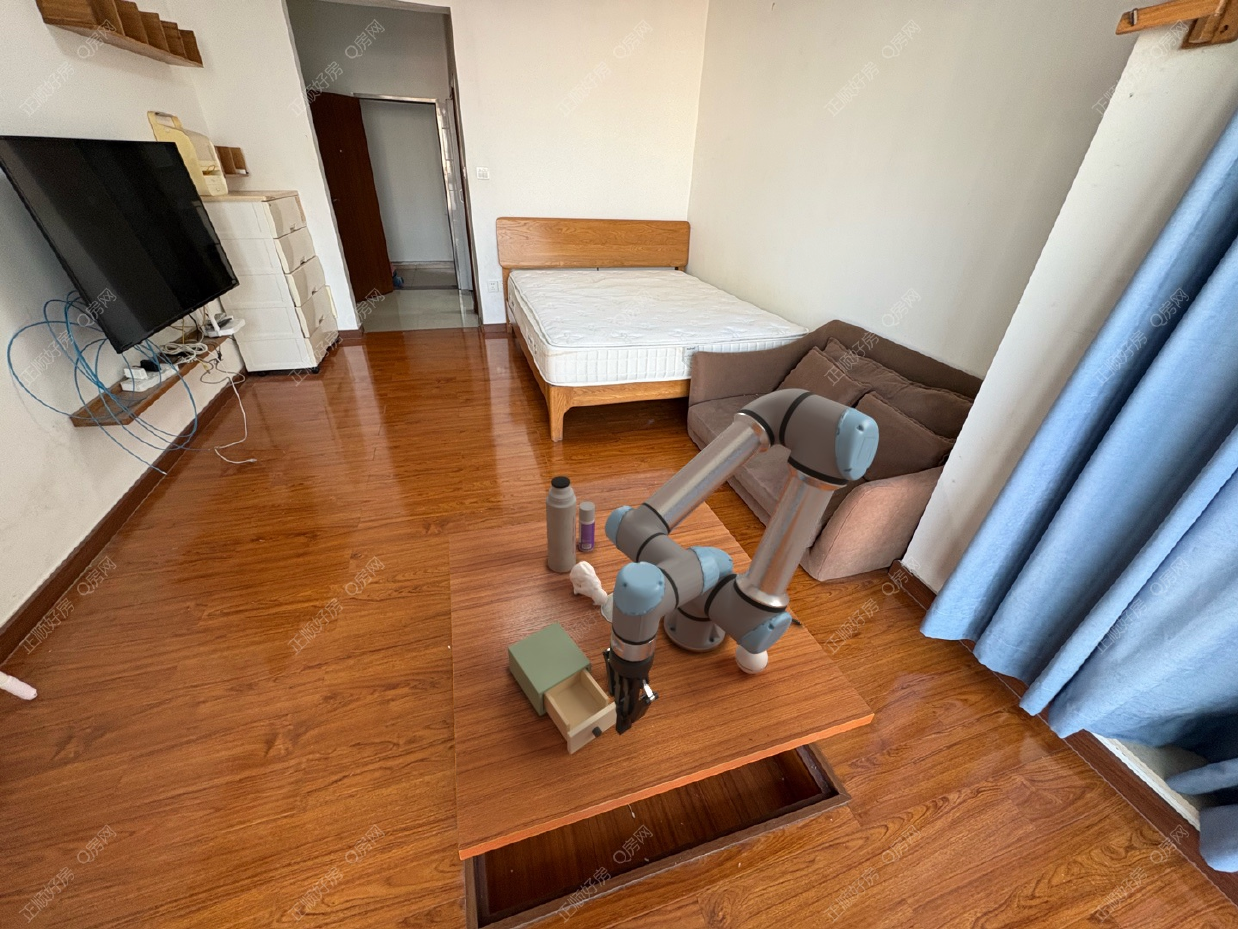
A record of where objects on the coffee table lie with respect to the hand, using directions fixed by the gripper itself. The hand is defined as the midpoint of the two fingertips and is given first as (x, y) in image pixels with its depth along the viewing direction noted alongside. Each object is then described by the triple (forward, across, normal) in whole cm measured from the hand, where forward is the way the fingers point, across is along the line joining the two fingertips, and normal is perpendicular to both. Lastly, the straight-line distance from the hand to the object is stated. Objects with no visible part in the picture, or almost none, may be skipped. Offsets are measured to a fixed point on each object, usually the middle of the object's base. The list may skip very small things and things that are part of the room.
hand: (623, 728), depth 95 cm
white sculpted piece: (+7, -37, +18) cm, 42 cm away
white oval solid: (+7, +4, +36) cm, 36 cm away
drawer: (+6, -10, -3) cm, 12 cm away
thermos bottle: (+7, -52, +19) cm, 56 cm away
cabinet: (+7, -22, -3) cm, 23 cm away
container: (+7, -54, +28) cm, 61 cm away
